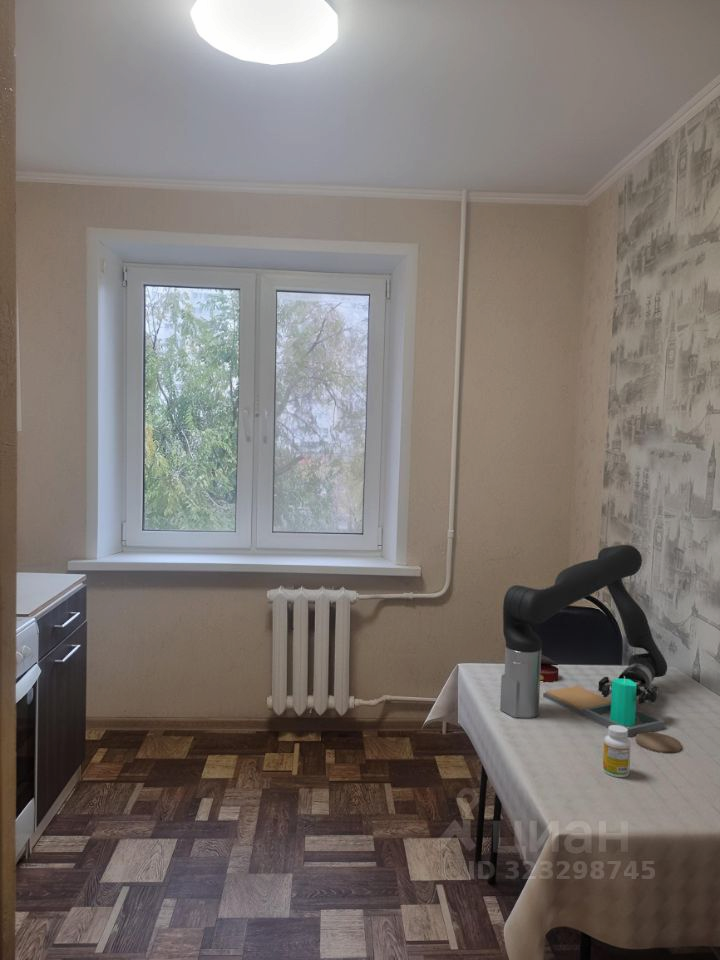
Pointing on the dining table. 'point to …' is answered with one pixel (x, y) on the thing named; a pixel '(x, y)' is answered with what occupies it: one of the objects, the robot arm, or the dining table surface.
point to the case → (598, 708)
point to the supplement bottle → (617, 752)
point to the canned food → (548, 670)
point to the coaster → (658, 742)
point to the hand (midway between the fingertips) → (622, 697)
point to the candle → (623, 701)
